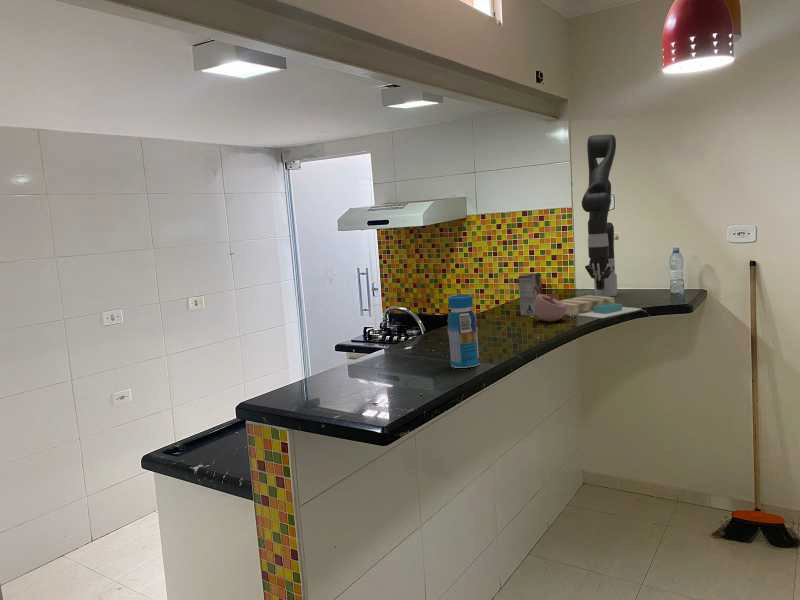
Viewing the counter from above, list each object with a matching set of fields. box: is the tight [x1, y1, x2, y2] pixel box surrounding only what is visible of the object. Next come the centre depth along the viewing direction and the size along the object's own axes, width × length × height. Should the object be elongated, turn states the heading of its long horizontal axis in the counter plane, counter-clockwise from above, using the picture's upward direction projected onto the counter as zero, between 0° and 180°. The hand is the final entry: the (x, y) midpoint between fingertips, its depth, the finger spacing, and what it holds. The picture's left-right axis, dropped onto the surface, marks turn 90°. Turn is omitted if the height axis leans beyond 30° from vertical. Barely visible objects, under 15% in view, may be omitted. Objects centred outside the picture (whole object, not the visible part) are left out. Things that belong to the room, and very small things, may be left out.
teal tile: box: [593, 303, 623, 314], centre depth 237 cm, size 9×6×2 cm, turn 120°
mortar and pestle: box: [534, 290, 567, 323], centre depth 228 cm, size 12×12×12 cm
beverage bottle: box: [446, 294, 481, 369], centre depth 171 cm, size 8×8×20 cm
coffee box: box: [517, 272, 543, 317], centre depth 248 cm, size 9×6×16 cm
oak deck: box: [559, 294, 615, 316], centre depth 248 cm, size 22×14×4 cm, turn 120°
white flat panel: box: [577, 306, 642, 319], centre depth 236 cm, size 22×12×1 cm, turn 120°
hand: (600, 289), depth 239 cm, fingers closed
